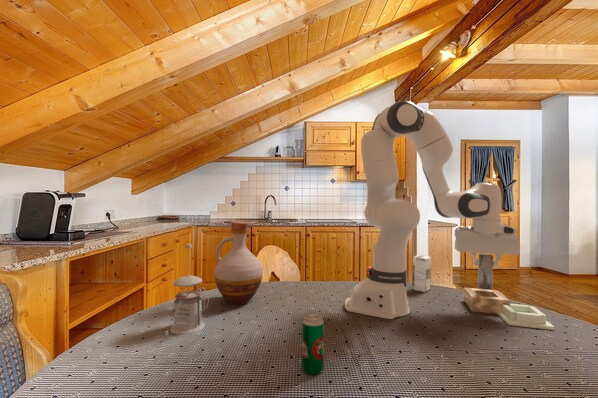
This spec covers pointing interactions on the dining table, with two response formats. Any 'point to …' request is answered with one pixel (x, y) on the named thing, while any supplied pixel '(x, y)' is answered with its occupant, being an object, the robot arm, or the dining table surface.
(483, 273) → the axle
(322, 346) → the soda can
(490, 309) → the bored block
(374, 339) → the dining table surface
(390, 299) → the robot arm
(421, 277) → the syrup box
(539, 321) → the holder
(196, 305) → the french press
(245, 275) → the jug
